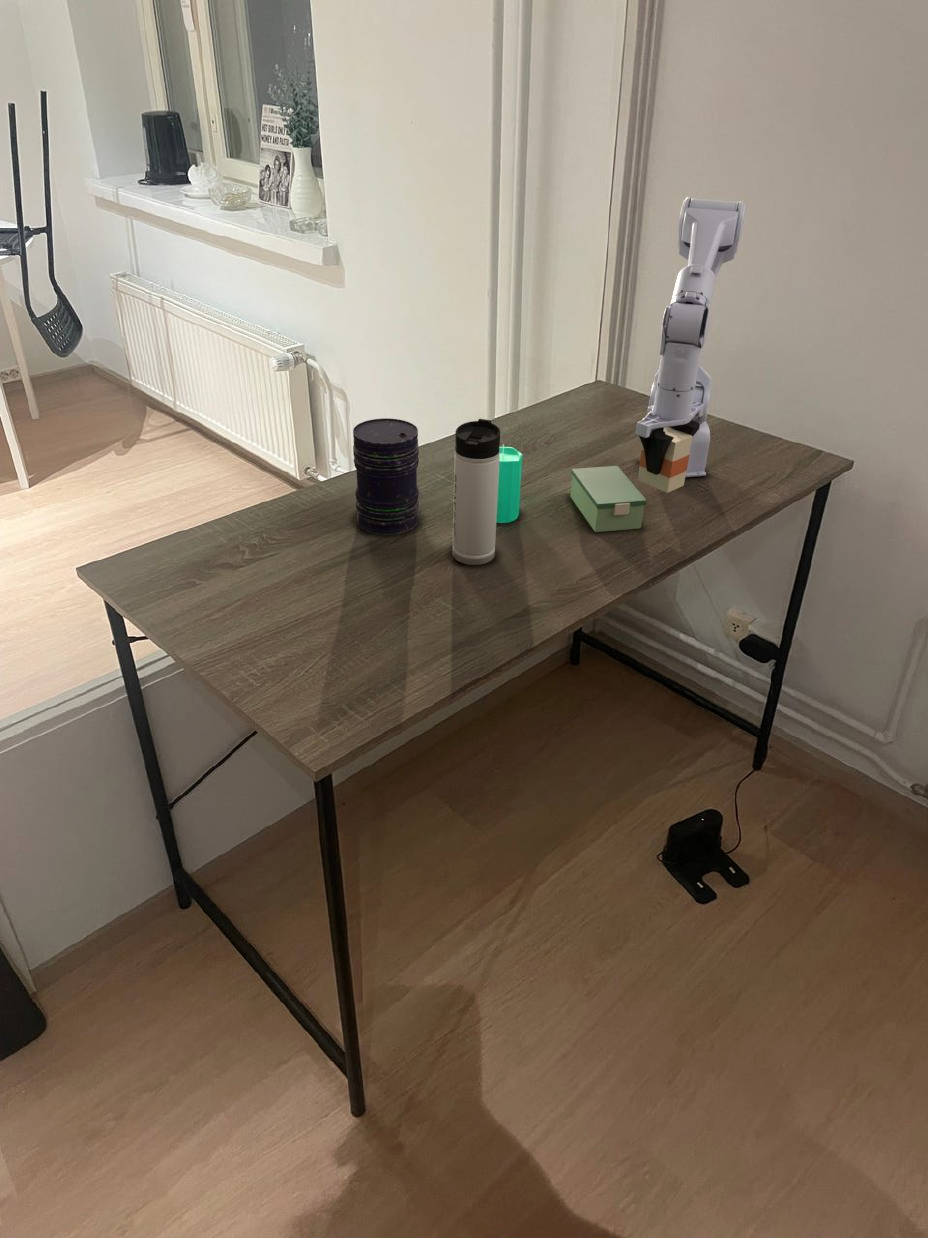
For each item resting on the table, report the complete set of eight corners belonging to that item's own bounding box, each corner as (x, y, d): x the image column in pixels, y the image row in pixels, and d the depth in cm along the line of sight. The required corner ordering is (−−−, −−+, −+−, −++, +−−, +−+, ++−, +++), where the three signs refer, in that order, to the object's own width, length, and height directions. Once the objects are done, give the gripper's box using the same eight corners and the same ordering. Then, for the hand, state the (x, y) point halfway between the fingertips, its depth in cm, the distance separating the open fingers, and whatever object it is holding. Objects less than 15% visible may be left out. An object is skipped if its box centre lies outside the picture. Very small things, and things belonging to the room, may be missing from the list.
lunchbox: (613, 492, 154) (616, 464, 151) (643, 529, 143) (647, 501, 140) (568, 495, 152) (570, 468, 149) (594, 533, 141) (598, 504, 138)
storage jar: (344, 526, 141) (339, 435, 133) (376, 501, 149) (373, 413, 140) (400, 540, 138) (399, 448, 129) (430, 514, 145) (430, 425, 137)
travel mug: (500, 548, 137) (507, 421, 125) (487, 569, 131) (493, 439, 120) (461, 540, 138) (464, 415, 127) (446, 561, 133) (448, 432, 122)
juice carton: (653, 473, 150) (661, 424, 145) (684, 485, 146) (693, 435, 141) (636, 480, 147) (643, 430, 142) (667, 493, 143) (675, 442, 139)
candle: (492, 526, 142) (496, 454, 136) (474, 510, 147) (477, 440, 140) (525, 518, 145) (530, 448, 138) (506, 503, 149) (510, 434, 142)
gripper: (683, 368, 144) (670, 448, 152) (624, 388, 136) (614, 471, 143) (720, 380, 140) (705, 462, 147) (662, 401, 132) (649, 486, 139)
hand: (662, 468), depth 145 cm, fingers closed on juice carton, 4 cm apart
